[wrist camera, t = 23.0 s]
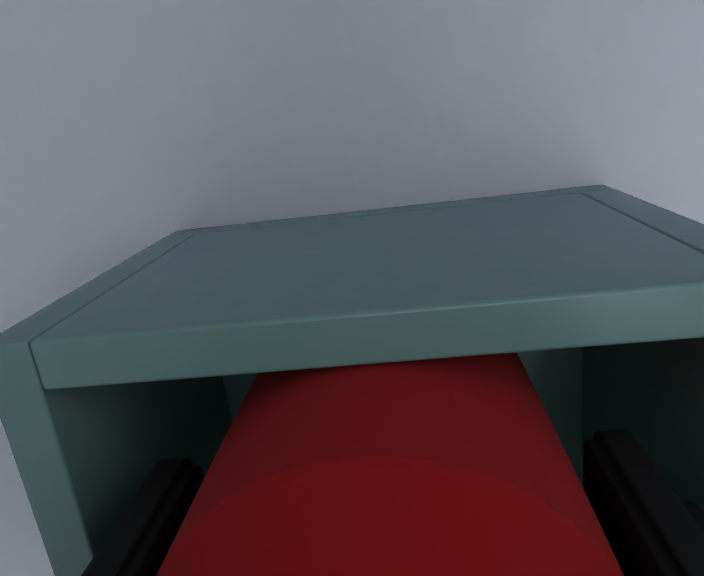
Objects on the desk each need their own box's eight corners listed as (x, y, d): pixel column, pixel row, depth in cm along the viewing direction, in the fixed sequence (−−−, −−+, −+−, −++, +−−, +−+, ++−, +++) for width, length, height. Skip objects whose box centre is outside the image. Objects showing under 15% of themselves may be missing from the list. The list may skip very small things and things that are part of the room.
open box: (175, 230, 18) (-26, 346, 9) (604, 183, 16) (826, 270, 8) (256, 606, 22) (170, 917, 14) (600, 593, 21) (740, 929, 12)
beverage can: (263, 420, 19) (52, 926, 7) (308, 220, 16) (111, 484, 5) (465, 472, 19) (576, 1057, 7) (537, 279, 16) (855, 675, 5)
